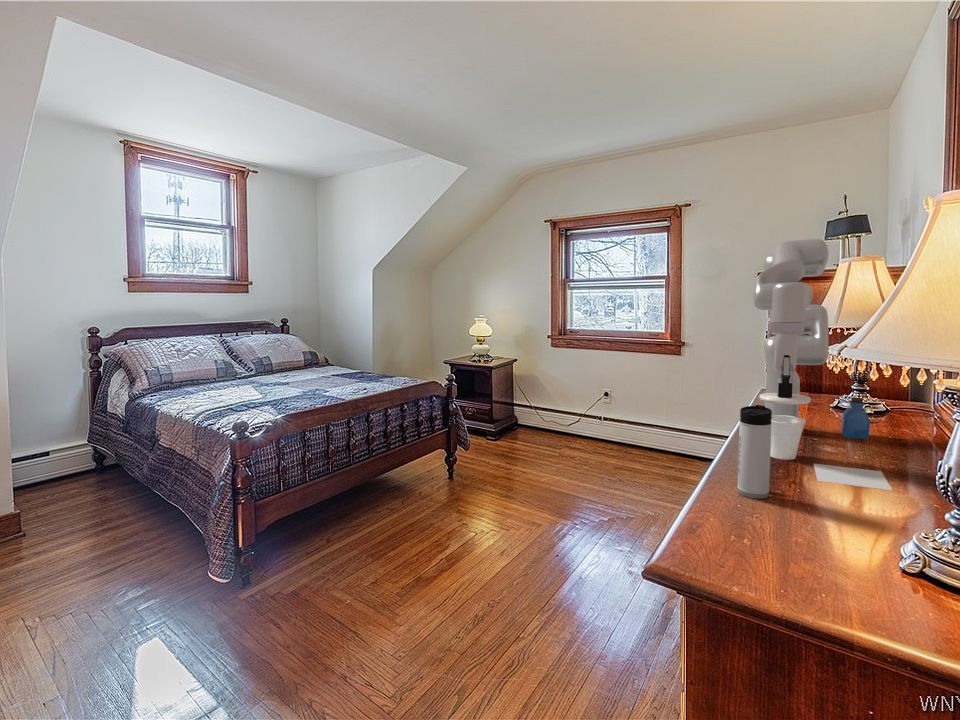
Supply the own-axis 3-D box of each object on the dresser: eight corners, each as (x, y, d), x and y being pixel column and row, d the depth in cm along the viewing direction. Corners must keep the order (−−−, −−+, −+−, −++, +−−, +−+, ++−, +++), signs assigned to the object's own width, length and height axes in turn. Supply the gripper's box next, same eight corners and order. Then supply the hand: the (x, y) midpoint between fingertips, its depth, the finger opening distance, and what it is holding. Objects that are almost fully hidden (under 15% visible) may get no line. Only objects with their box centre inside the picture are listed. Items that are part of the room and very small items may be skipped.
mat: (813, 465, 131) (813, 463, 130) (881, 473, 123) (881, 471, 123) (817, 482, 119) (817, 480, 118) (892, 492, 111) (892, 490, 111)
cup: (810, 464, 132) (812, 423, 130) (769, 462, 134) (770, 422, 132) (794, 453, 141) (796, 415, 140) (756, 451, 143) (757, 414, 142)
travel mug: (773, 492, 113) (776, 406, 111) (763, 501, 109) (767, 411, 106) (743, 486, 118) (746, 403, 115) (733, 494, 113) (735, 408, 111)
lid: (759, 395, 144) (760, 374, 143) (809, 397, 138) (810, 376, 137) (758, 402, 133) (759, 380, 133) (812, 405, 127) (813, 382, 127)
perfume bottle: (868, 439, 152) (871, 401, 151) (843, 437, 155) (845, 399, 154) (866, 434, 157) (868, 397, 156) (841, 432, 161) (843, 396, 159)
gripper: (771, 327, 142) (769, 390, 144) (771, 330, 128) (768, 400, 130) (802, 327, 139) (799, 392, 140) (805, 330, 124) (802, 402, 126)
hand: (784, 395), depth 135 cm, fingers closed on lid, 3 cm apart
